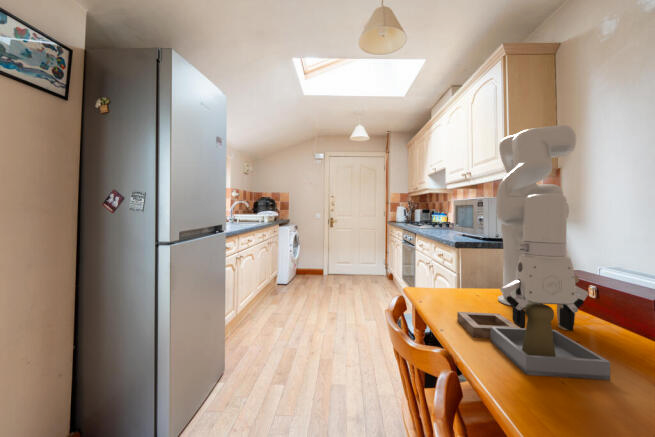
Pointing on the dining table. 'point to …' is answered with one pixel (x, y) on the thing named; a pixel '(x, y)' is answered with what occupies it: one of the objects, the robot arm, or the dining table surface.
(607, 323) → the dining table surface
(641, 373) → the dining table surface
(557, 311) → the handle
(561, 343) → the tray
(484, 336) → the socket block
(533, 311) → the cork
